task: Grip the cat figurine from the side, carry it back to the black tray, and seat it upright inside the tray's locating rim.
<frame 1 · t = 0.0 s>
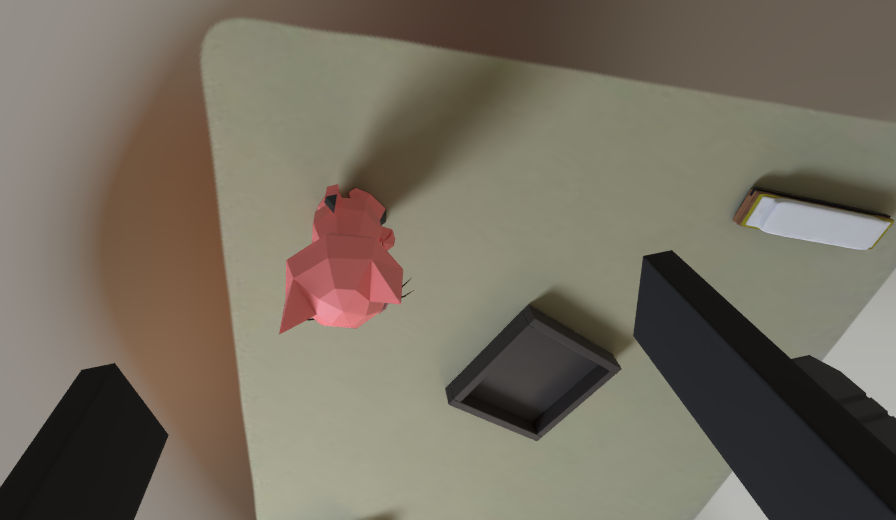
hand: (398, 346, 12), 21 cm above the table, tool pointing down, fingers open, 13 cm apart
cat figurine: (347, 207, 32), on the table
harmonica: (806, 214, 39), on the table
black tray: (530, 371, 44), on the table
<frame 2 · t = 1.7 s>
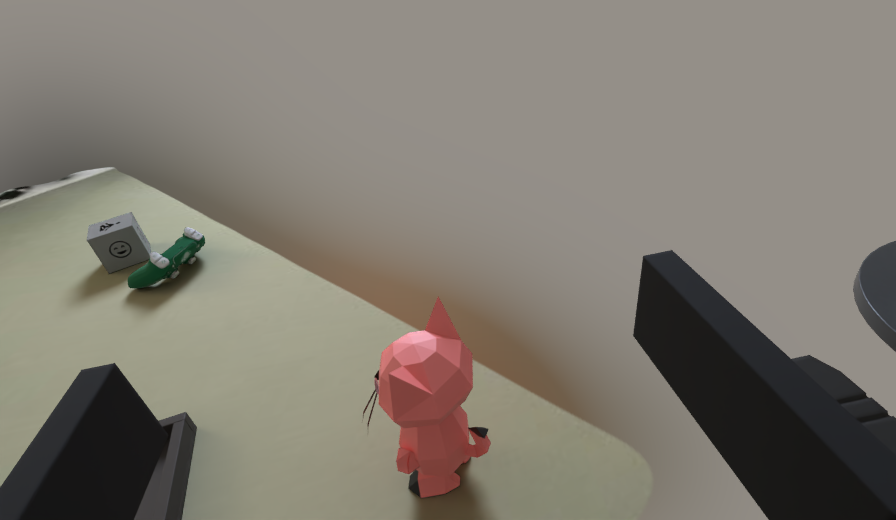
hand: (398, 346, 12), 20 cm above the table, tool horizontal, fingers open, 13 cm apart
green elongated piece: (177, 271, 57), on the table
cat figurine: (446, 466, 31), on the table
dice cube: (131, 259, 62), on the table
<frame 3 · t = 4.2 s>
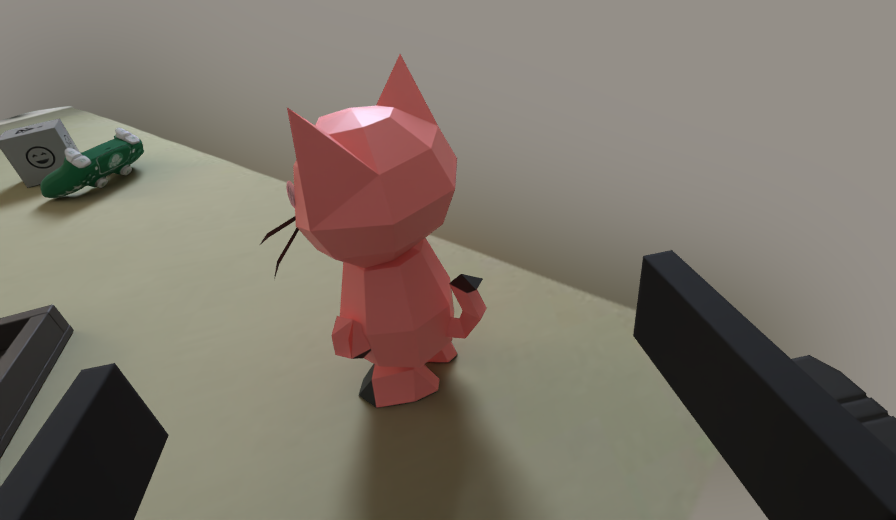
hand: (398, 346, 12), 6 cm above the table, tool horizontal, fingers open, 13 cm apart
green elongated piece: (108, 182, 47), on the table
cat figurine: (420, 368, 20), on the table
dice cube: (58, 175, 51), on the table
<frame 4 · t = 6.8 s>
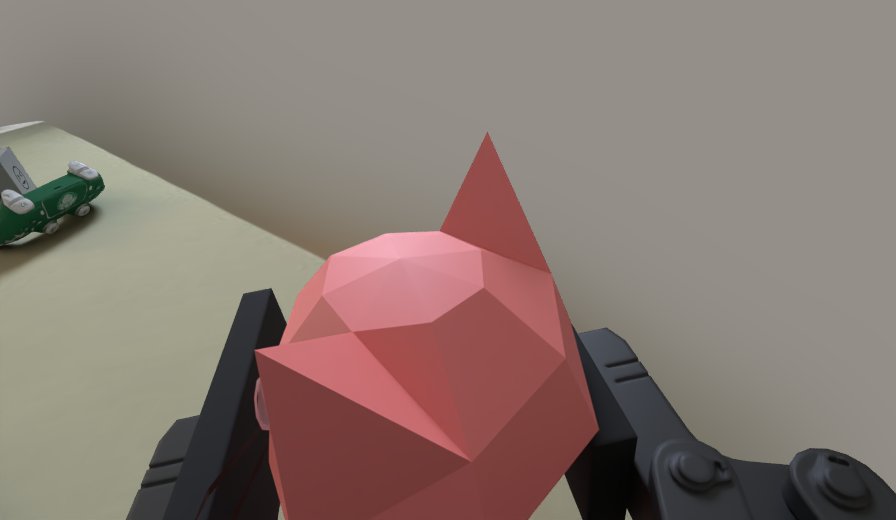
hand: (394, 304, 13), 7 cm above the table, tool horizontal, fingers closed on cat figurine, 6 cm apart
green elongated piece: (61, 225, 39), on the table
dice cube: (8, 212, 44), on the table
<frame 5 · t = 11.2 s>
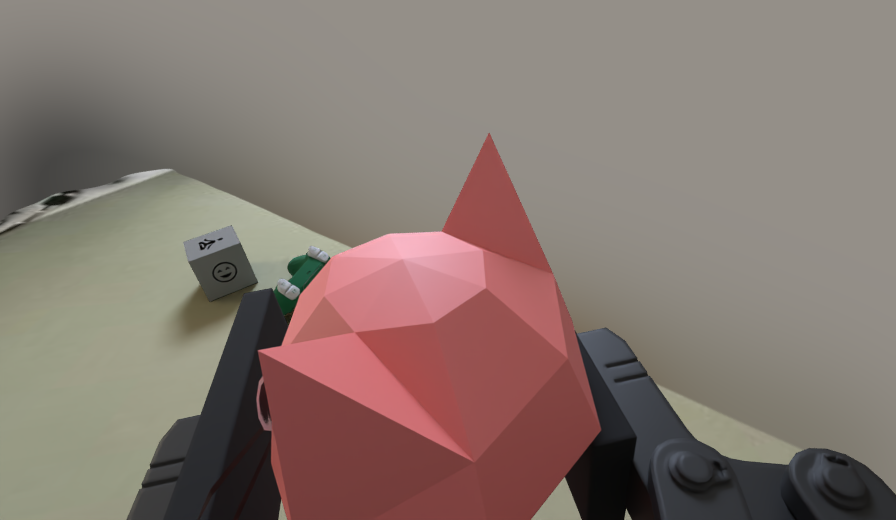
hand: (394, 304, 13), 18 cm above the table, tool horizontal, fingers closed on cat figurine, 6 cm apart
green elongated piece: (297, 300, 46), on the table
dice cube: (230, 282, 51), on the table
when the fingers open (7 cm above the table, at t = 15.5 s): cat figurine stays where it is, resting on black tray.
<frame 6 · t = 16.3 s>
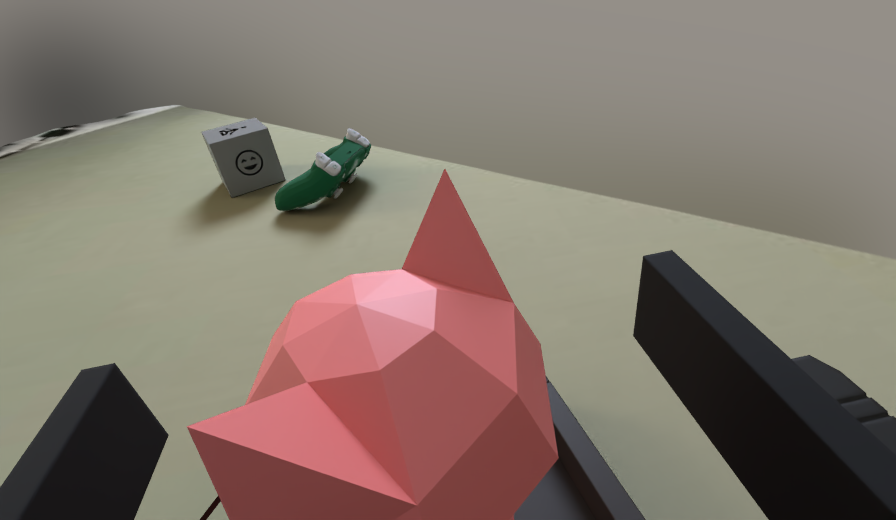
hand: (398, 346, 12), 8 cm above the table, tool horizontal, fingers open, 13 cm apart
green elongated piece: (333, 192, 40), on the table
dice cube: (254, 182, 45), on the table
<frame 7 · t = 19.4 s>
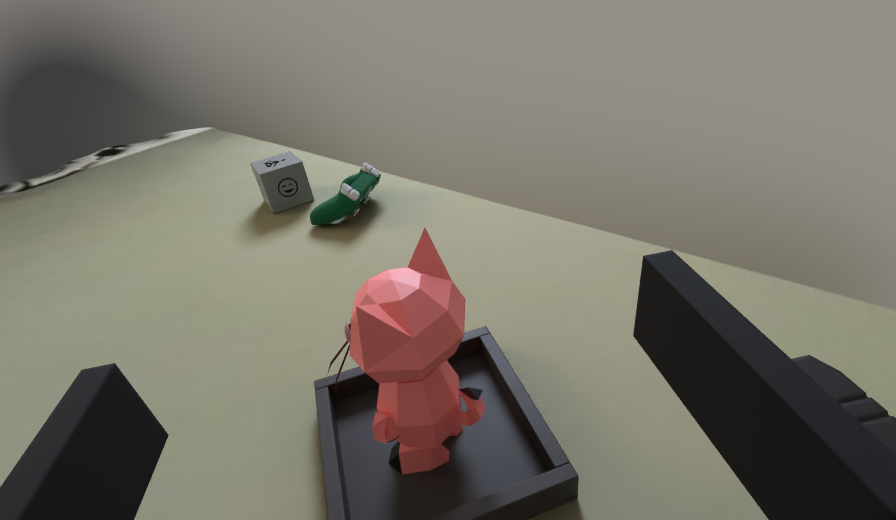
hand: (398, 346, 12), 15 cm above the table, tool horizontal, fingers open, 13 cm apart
green elongated piece: (352, 210, 53), on the table
cat figurine: (434, 439, 26), resting on black tray
dice cube: (289, 201, 58), on the table
black tray: (432, 442, 26), on the table
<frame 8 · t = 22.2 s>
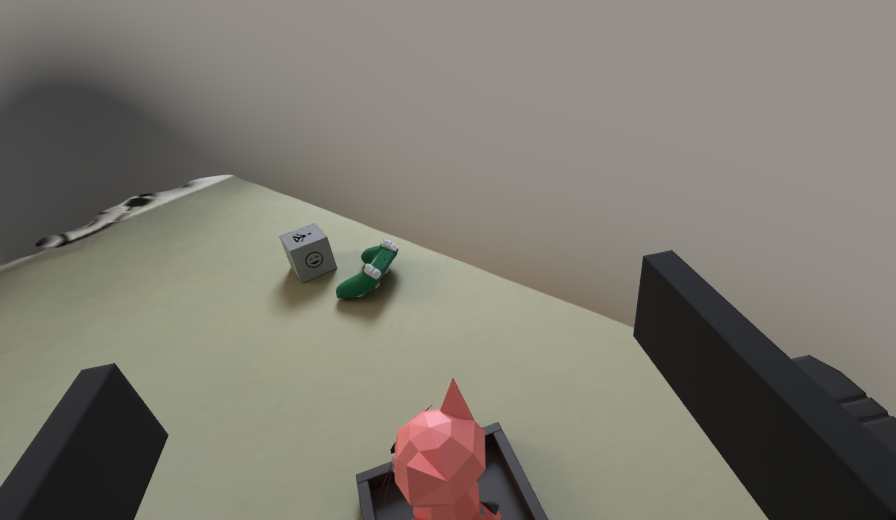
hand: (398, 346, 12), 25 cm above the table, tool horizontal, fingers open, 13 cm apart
green elongated piece: (372, 281, 59), on the table
dice cube: (314, 268, 63), on the table
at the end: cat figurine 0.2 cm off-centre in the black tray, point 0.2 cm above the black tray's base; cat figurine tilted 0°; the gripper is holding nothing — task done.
